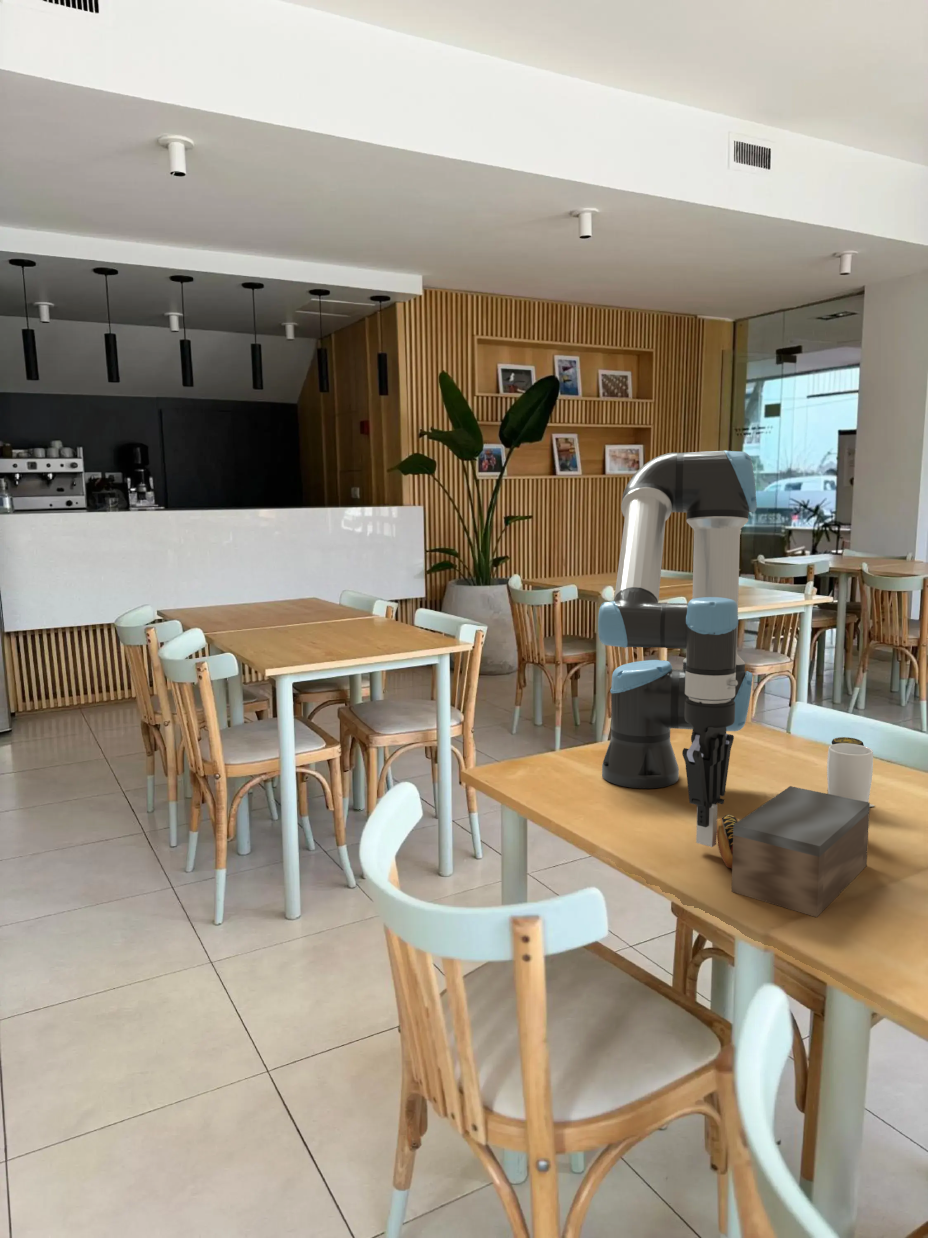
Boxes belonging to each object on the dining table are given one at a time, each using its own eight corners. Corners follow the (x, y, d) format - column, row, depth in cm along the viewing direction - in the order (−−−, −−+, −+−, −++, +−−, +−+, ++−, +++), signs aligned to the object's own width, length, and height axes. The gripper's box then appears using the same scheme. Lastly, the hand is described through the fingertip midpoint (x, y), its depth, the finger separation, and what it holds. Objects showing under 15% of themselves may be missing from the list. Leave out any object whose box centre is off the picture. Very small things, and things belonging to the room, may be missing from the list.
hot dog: (745, 842, 142) (746, 813, 141) (756, 877, 129) (757, 845, 128) (713, 840, 143) (714, 811, 142) (722, 875, 130) (722, 843, 129)
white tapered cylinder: (816, 830, 146) (820, 743, 144) (855, 828, 147) (859, 742, 145) (837, 846, 139) (841, 756, 137) (877, 844, 140) (882, 754, 138)
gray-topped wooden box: (731, 891, 124) (733, 825, 123) (788, 845, 140) (790, 786, 139) (816, 917, 116) (819, 846, 115) (866, 865, 132) (869, 802, 131)
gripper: (713, 709, 127) (709, 863, 130) (751, 693, 137) (746, 837, 140) (667, 702, 132) (664, 850, 135) (706, 687, 142) (703, 826, 145)
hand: (706, 843), depth 138 cm, fingers closed
